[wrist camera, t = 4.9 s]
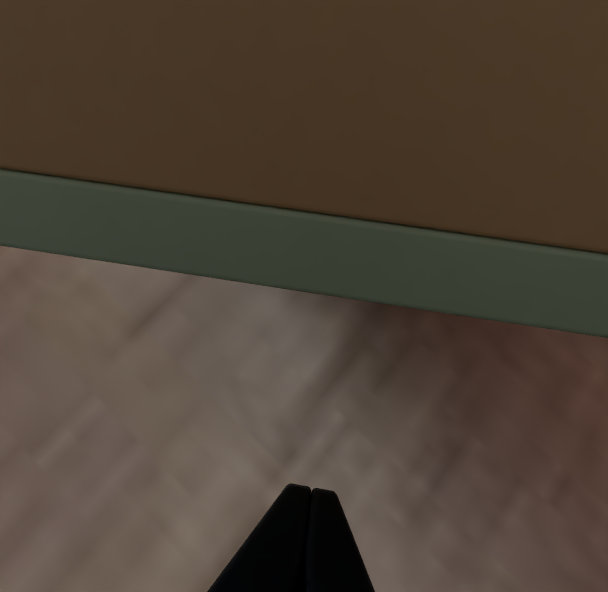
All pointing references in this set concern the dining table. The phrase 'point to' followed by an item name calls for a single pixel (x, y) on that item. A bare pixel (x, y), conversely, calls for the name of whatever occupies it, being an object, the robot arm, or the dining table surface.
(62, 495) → the dining table surface
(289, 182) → the green rectangular box
